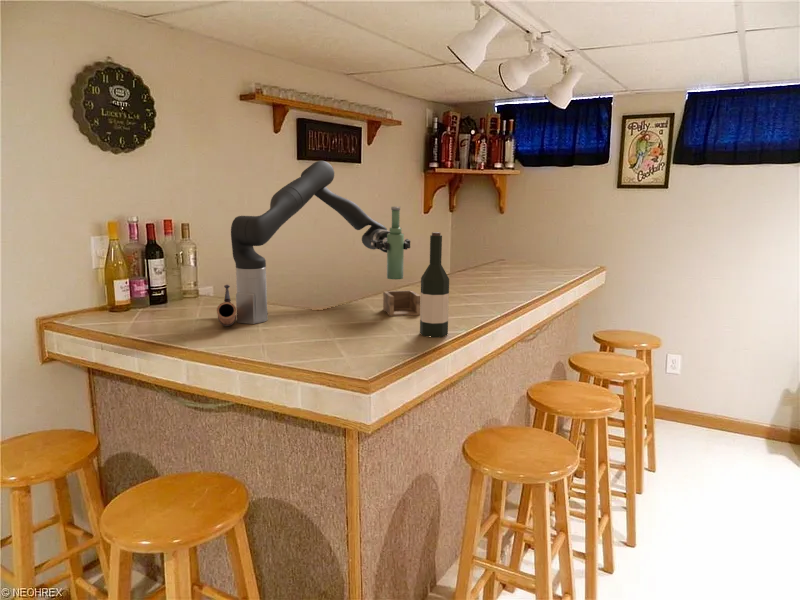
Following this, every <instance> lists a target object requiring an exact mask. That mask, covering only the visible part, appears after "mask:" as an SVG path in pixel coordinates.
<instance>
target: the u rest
mask: <svg viewBox="0 0 800 600" xmlns="http://www.w3.org/2000/svg"><path fill="white" fill-rule="evenodd" d="M382 292H383V295H382V296H383V297H382V298H383V299H382V301H383V303H382V304H383V305H382V310H383V311H384V312H385V311H386V312H387V313H388V314H389V315H390V316H389V315H388V314H387V313H386V312H385V313H386V314H387V315H388V316H389V317H401V316H402V317H404V316H403V315H407V316H420V303H421V294H419V293H417V292H415V291H414V290H390V291H389V290H388V291H387V290H386V291H382Z"/></svg>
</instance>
